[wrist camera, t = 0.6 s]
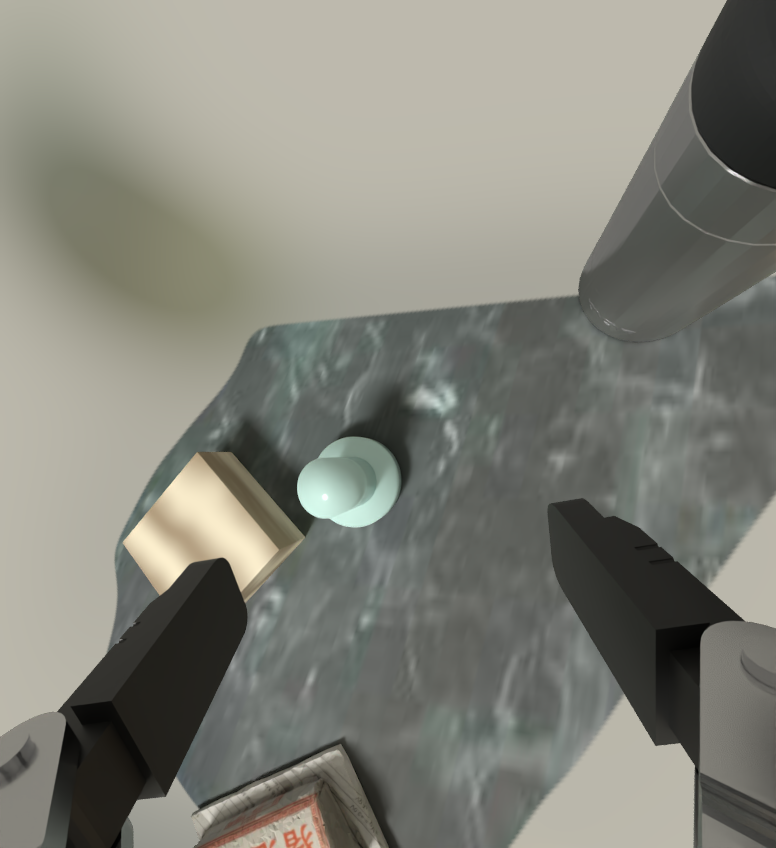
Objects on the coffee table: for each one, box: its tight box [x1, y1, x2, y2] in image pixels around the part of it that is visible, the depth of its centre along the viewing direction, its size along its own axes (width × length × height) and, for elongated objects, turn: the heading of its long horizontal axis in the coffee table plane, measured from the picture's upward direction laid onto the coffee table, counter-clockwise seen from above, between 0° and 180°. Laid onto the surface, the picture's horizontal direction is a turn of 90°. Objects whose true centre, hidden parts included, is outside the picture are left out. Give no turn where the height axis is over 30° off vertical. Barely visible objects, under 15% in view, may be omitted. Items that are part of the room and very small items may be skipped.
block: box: [123, 452, 305, 603], centre depth 35 cm, size 12×12×5 cm
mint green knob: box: [297, 437, 402, 527], centre depth 30 cm, size 8×8×8 cm
